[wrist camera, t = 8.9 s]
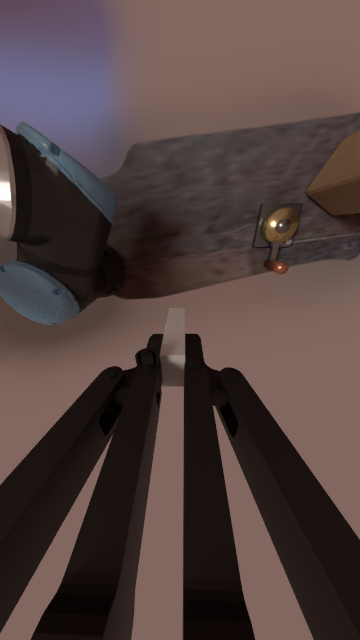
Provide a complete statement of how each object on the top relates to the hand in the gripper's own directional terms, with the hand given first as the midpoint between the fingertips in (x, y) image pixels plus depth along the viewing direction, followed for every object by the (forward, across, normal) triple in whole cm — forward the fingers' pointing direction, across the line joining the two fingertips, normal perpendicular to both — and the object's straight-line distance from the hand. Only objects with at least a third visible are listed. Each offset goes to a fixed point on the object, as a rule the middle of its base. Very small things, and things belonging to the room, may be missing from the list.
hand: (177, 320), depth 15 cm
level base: (+32, +23, +8) cm, 41 cm away
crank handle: (+31, +23, +5) cm, 39 cm away
